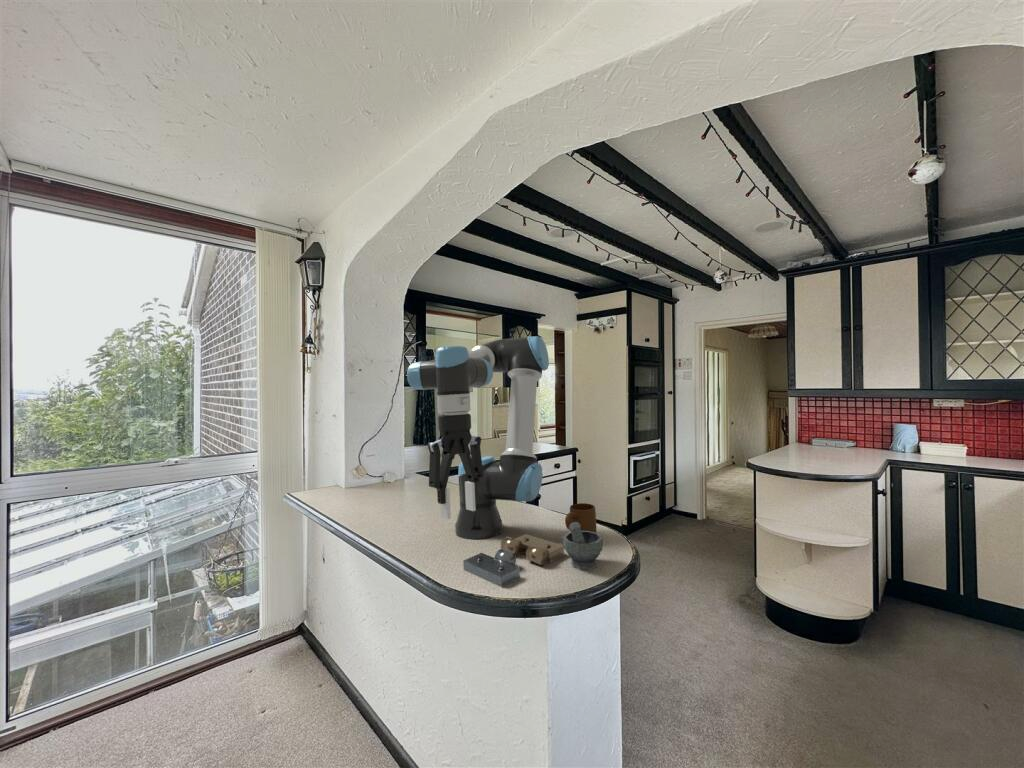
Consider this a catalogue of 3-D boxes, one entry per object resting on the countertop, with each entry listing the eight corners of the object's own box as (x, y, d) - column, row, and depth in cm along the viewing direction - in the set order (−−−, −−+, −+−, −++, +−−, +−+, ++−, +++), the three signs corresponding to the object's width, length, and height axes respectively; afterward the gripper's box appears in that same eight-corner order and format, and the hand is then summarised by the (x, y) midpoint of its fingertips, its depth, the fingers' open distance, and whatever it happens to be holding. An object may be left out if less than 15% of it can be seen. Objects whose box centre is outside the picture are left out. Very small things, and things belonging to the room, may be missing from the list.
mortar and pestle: (573, 554, 110) (571, 509, 110) (607, 560, 105) (605, 513, 105) (556, 571, 100) (554, 522, 100) (594, 578, 95) (591, 527, 95)
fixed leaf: (501, 553, 112) (500, 538, 112) (526, 542, 119) (525, 529, 119) (539, 567, 102) (538, 551, 102) (564, 555, 109) (563, 540, 109)
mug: (578, 550, 112) (577, 516, 112) (556, 544, 117) (555, 511, 117) (601, 537, 121) (600, 505, 121) (580, 532, 126) (578, 501, 126)
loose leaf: (463, 570, 103) (462, 554, 103) (493, 557, 110) (492, 542, 110) (501, 588, 93) (500, 570, 93) (531, 572, 100) (530, 555, 100)
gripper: (427, 417, 85) (431, 528, 85) (496, 410, 98) (500, 506, 98) (408, 416, 90) (412, 521, 90) (476, 410, 104) (480, 501, 104)
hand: (458, 513), depth 94 cm, fingers open, 6 cm apart
